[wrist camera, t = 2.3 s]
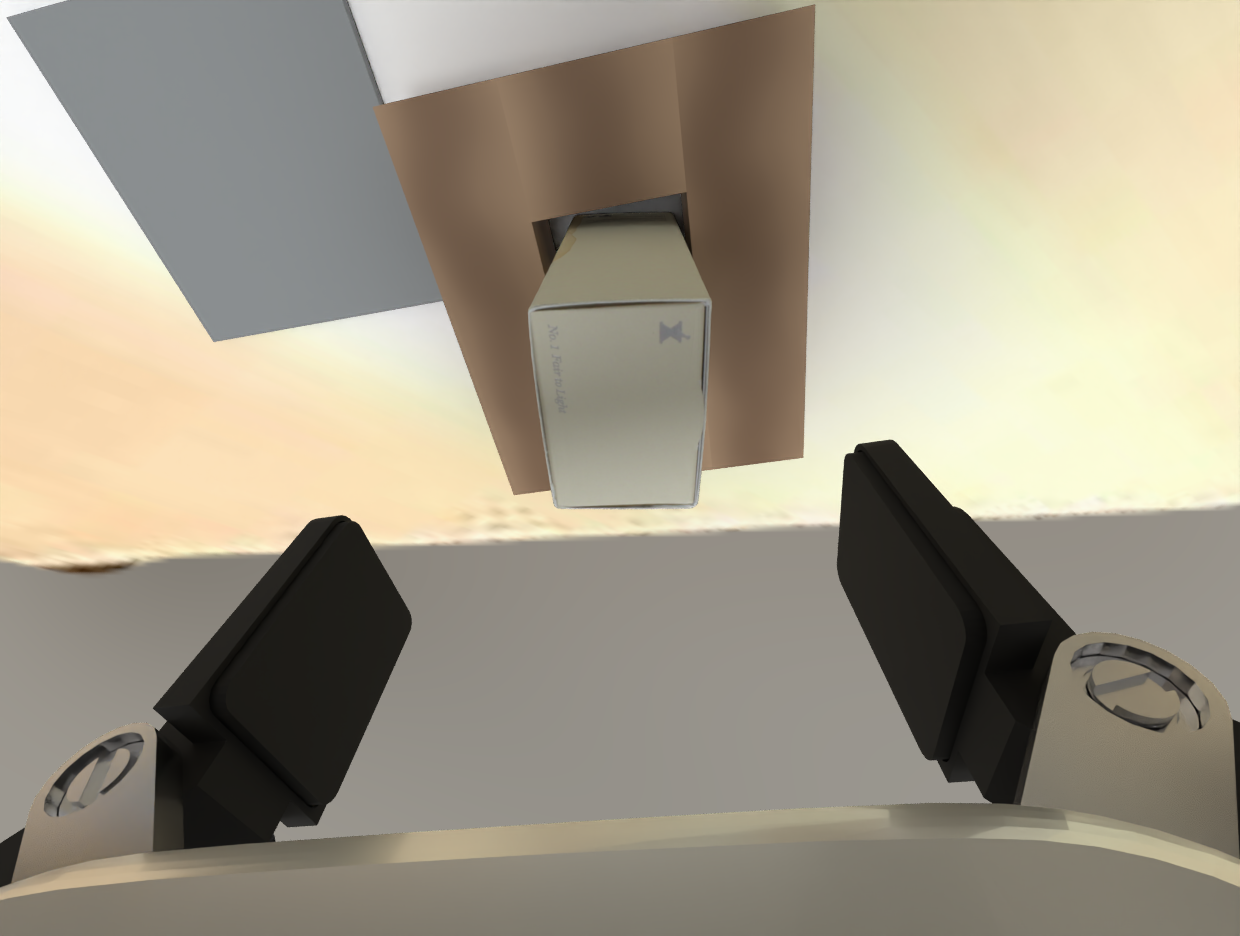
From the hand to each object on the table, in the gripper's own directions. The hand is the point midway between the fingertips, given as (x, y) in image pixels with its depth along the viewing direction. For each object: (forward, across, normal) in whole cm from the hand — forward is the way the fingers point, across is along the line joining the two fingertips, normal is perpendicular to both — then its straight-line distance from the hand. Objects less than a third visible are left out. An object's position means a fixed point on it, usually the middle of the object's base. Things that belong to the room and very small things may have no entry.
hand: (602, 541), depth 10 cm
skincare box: (+16, 0, -1) cm, 16 cm away
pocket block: (+16, 0, -1) cm, 16 cm away
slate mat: (+16, +14, -8) cm, 22 cm away
